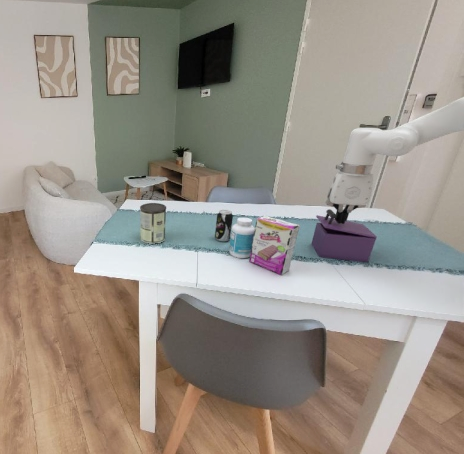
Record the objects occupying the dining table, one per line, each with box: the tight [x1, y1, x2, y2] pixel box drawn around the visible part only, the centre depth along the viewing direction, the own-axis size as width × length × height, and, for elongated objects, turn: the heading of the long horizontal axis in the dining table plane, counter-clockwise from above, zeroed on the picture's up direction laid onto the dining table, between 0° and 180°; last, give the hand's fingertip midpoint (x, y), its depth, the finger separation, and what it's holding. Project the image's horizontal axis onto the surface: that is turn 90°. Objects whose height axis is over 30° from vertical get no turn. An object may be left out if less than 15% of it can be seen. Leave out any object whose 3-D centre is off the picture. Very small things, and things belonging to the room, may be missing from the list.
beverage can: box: [214, 209, 234, 243], centre depth 115 cm, size 6×6×12 cm
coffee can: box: [139, 202, 167, 245], centre depth 118 cm, size 10×10×14 cm
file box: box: [311, 222, 377, 263], centre depth 101 cm, size 14×11×9 cm
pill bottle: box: [228, 216, 255, 259], centre depth 103 cm, size 8×7×14 cm
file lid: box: [315, 208, 378, 239], centre depth 98 cm, size 14×11×4 cm
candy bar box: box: [248, 214, 301, 276], centre depth 94 cm, size 11×5×16 cm, turn 34°
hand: (339, 222), depth 99 cm, fingers closed
